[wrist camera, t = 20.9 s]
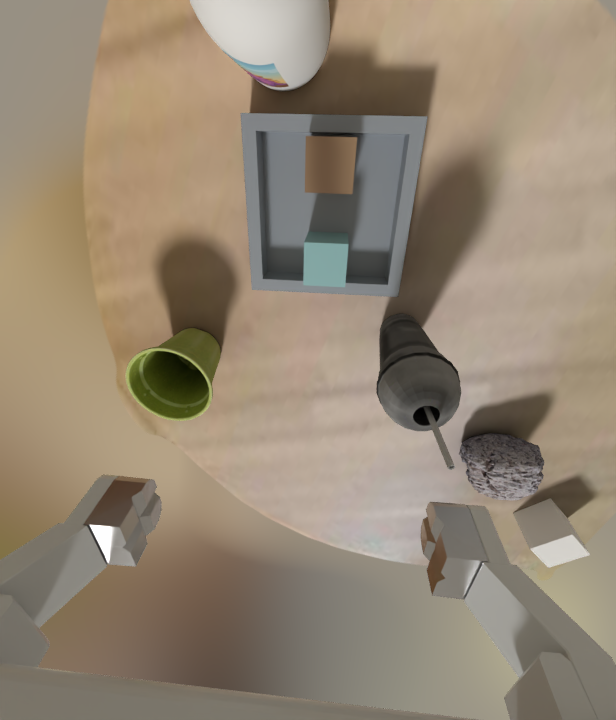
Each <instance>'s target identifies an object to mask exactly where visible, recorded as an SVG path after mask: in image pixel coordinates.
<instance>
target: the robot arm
mask: <svg viewBox="0 0 616 720" xmlns="http://www.w3.org/2000/svg"><path fill="white" fill-rule="evenodd" d="M156 488H157V486H156V484H155V481H154V480H152V479H143V478H133V477H124V476H114V475H102V476H101V477H99V478H98V479H97V480H96V481H95V483H94V484H93V485H92V487H91V488H90V489H89V491H88V492H87V493H86V495H85V496H84V497H83V498H82V500H81V501H80V502H79V504H78V505H77V507H76V508H75V509H74V510H73V512H72V513H71V514H70V516H69V517H68V518H67V520H66V521H65V522H64V523H58V524H57V525H55V526H53V527H52V528H50V529H49V530H47V531H45V532H44V533H42V534H41V535H39V536H37V537H36V538H34V539H33V540H31V541H29V542H28V543H26V544H25V545H23V546H22V547H20V548H19V549H17V550H15V551H14V552H12V553H11V554H9V555H7V556H6V557H4V558H3V559H1V560H0V720H476V719H468V718H460V717H451V716H443V715H434V714H426V713H418V712H409V711H401V710H393V709H384V708H376V707H367V706H359V705H350V704H342V703H334V702H325V701H317V700H308V699H299V698H291V697H283V696H274V695H265V694H258V693H249V692H241V691H231V690H224V689H215V688H207V687H198V686H190V685H182V684H173V683H165V682H156V681H148V680H139V679H131V678H123V677H114V676H106V675H105V676H104V675H97V674H89V673H80V672H72V671H64V670H55V669H46V668H38V665H39V664H40V662H41V660H42V658H43V657H44V655H45V653H46V651H47V650H48V648H49V640H48V639H47V637H46V636H45V635H44V634H43V633H42V631H41V630H40V629H39V627H40V626H41V625H43V624H44V623H45V622H46V621H47V620H48V619H49V618H50V617H52V616H53V615H54V614H55V613H56V612H57V611H58V610H59V609H60V608H61V607H62V606H64V605H65V604H66V603H67V602H68V601H69V600H70V599H71V598H73V596H75V595H76V594H77V593H78V592H79V591H80V590H81V589H82V588H84V587H85V586H86V585H87V584H88V583H89V582H90V581H91V580H92V579H93V578H95V577H96V576H97V575H98V574H99V573H100V572H101V571H102V570H103V569H105V568H106V567H107V565H106V564H110V565H125V566H136V565H137V563H138V561H139V559H140V557H141V555H142V553H143V551H144V549H145V547H146V545H147V539H146V535H148V534H149V533H150V532H151V531H153V530H154V529H155V527H156V525H157V523H158V521H159V518H160V513H161V499H160V497H159V496H158V495H157V494H156V493H155V489H156ZM426 512H427V516H428V517H426V518H425V519H423V522H422V526H421V544H422V549H423V554H424V555H425V556H426V558H427V559H428V560H429V561H430V562H429V565H428V568H427V574H428V579H429V583H430V588H431V592H432V596H440V597H448V598H456V599H464V602H465V604H466V605H467V606H468V608H469V609H470V611H471V612H472V613H473V615H474V616H475V617H476V619H477V620H478V622H479V623H480V624H481V626H482V627H483V628H484V630H485V631H486V633H487V634H488V635H489V637H490V638H491V640H492V641H493V642H494V644H495V645H496V647H497V648H498V649H499V651H500V652H501V654H502V655H503V656H504V658H505V659H506V660H507V662H508V663H509V665H510V666H511V667H512V669H513V670H514V671H515V673H516V674H517V676H518V677H519V679H518V681H517V682H516V683H515V684H514V685H513V686H512V688H511V689H510V690H509V691H508V692H507V694H506V696H505V697H504V699H505V703H506V706H507V710H508V713H509V716H510V720H616V665H615V663H614V661H613V659H612V657H611V656H610V655H608V654H607V653H606V652H605V651H604V650H603V649H602V648H601V647H600V646H599V645H598V644H597V643H596V642H595V641H594V640H593V639H592V638H591V637H590V636H589V635H588V634H587V633H586V632H585V631H584V630H583V629H582V628H581V627H580V626H579V625H578V624H577V623H576V622H574V621H573V620H572V619H571V618H570V617H569V616H568V615H567V614H566V613H565V612H564V611H563V610H562V609H561V608H560V607H559V606H558V605H557V604H556V603H555V602H554V601H553V600H552V599H551V598H550V597H549V596H548V595H546V594H545V593H544V591H543V590H541V589H540V588H539V587H538V586H537V585H536V584H535V583H534V582H533V581H532V580H531V579H530V578H529V577H528V576H527V575H526V574H525V573H524V572H523V571H522V570H521V569H520V568H519V567H518V566H517V565H511V564H510V562H509V559H508V557H507V554H506V552H505V550H504V547H503V545H502V543H501V540H500V538H499V535H498V533H497V531H496V528H495V526H494V523H493V521H492V519H491V516H490V514H489V512H488V510H487V509H486V507H485V506H475V505H465V504H454V503H439V502H430V503H429V504H428V506H427V509H426Z"/></svg>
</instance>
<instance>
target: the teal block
mask: <svg viewBox="0 0 616 720" xmlns="http://www.w3.org/2000/svg"><path fill="white" fill-rule="evenodd" d="M348 245H349V243H348V233H334V232H308V234H307V236H306V239H305V241H304V276H303V285H308V286H329V287H345V283H346V270H347V258H348Z"/></svg>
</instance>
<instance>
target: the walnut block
mask: <svg viewBox="0 0 616 720" xmlns="http://www.w3.org/2000/svg"><path fill="white" fill-rule="evenodd" d="M356 145H357V137H326V136H306V149H305V193H332V194H353V182H354V169H355V157H356Z"/></svg>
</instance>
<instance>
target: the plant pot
mask: <svg viewBox="0 0 616 720" xmlns="http://www.w3.org/2000/svg"><path fill="white" fill-rule="evenodd" d="M220 354H221V351H220V347H219V344H218V342H217V341H216V340H215V338H214V337H213V336H212V335H210V334H209V333H207V332H204V331H201V330H198V329H196V328H188V329H184V330H182V331H181V332H179V333H177V334H176V335H175V336H173V337H172V338H170V339H169V340H167V341H166V342H164V343H163V344H161V345H160V346H158V347H153V348H148V349H145V350H143V351H141V352H139V353H138V354H137V355H135V356H134V357H133V358H132V359H131V361H130V362H129V364H128V366H127V369H126V383H127V386H128V388H129V390H130V393H131V394H132V396H133V397H134V399H135V400H136V401H137V402H138V403H139V404H140V405H141V406H142V407H143V408H145V409H146V410H148V411H149V412H151V413H153V414H154V415H157V416H159V417H161V418H165V419H168V420H175V421H185V420H191V419H194V418H196V417H198V416H200V415H202V414H203V413H204V412H205V411H206V410H207V408H208V407H209V405H210V403H211V400H212V396H213V389H212V381H213V378H214V375H215V372H216V369H217V366H218V363H219V360H220ZM183 357H184V358H185V359H187V360H184V359H183Z"/></svg>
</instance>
